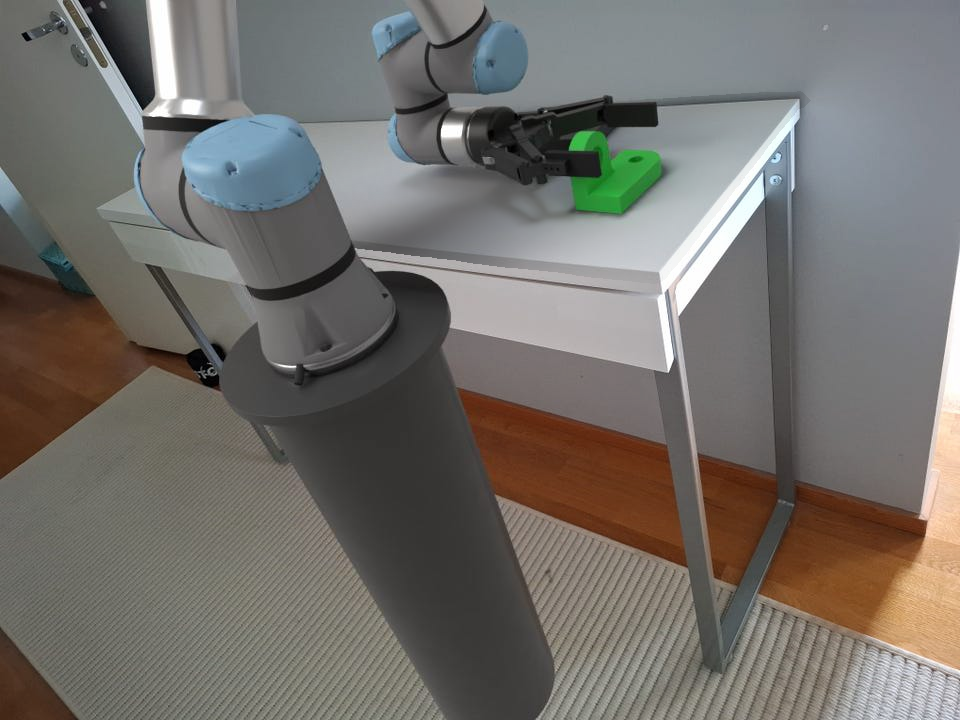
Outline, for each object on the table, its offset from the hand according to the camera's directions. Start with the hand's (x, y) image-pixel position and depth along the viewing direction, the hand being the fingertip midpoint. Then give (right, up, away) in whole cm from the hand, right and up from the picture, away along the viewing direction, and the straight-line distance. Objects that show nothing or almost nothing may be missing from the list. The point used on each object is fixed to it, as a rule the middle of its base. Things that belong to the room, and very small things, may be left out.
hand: (629, 138), depth 75 cm
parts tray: (-6, +8, +24) cm, 26 cm away
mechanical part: (0, -5, +4) cm, 6 cm away
